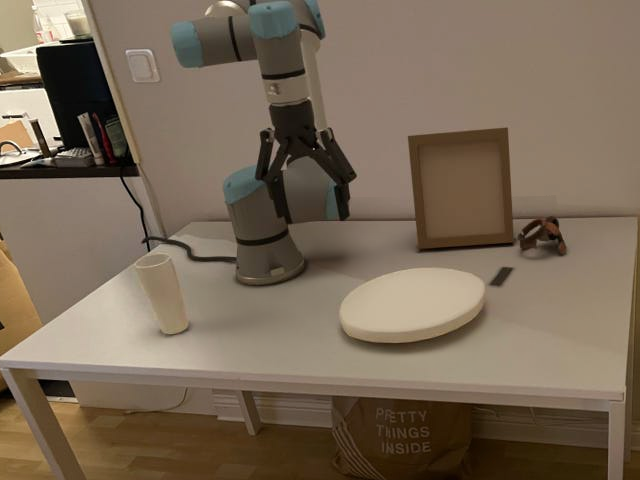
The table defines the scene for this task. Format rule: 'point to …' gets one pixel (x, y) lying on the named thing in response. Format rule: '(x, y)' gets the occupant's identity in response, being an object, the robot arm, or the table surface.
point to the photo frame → (462, 188)
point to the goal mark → (501, 276)
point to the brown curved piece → (542, 233)
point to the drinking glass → (162, 291)
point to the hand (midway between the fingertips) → (313, 217)
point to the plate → (412, 305)
